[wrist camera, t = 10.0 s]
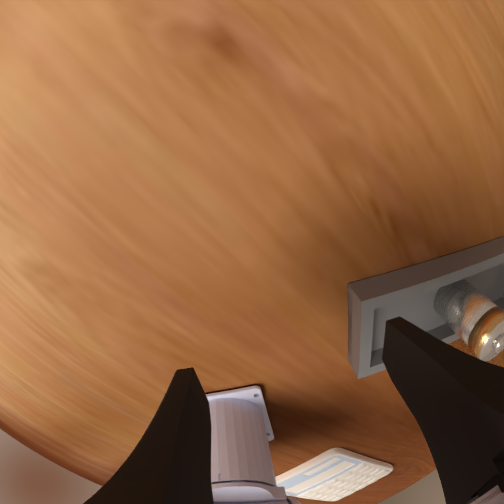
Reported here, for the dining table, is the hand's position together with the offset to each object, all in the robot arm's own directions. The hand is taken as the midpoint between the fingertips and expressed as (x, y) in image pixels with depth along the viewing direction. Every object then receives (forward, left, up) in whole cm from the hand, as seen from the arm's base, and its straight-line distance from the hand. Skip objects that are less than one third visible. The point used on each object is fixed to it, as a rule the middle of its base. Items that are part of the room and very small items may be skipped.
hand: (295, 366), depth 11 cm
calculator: (-40, -5, -11) cm, 42 cm away
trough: (-8, -16, -10) cm, 21 cm away
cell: (-8, -16, -10) cm, 20 cm away
